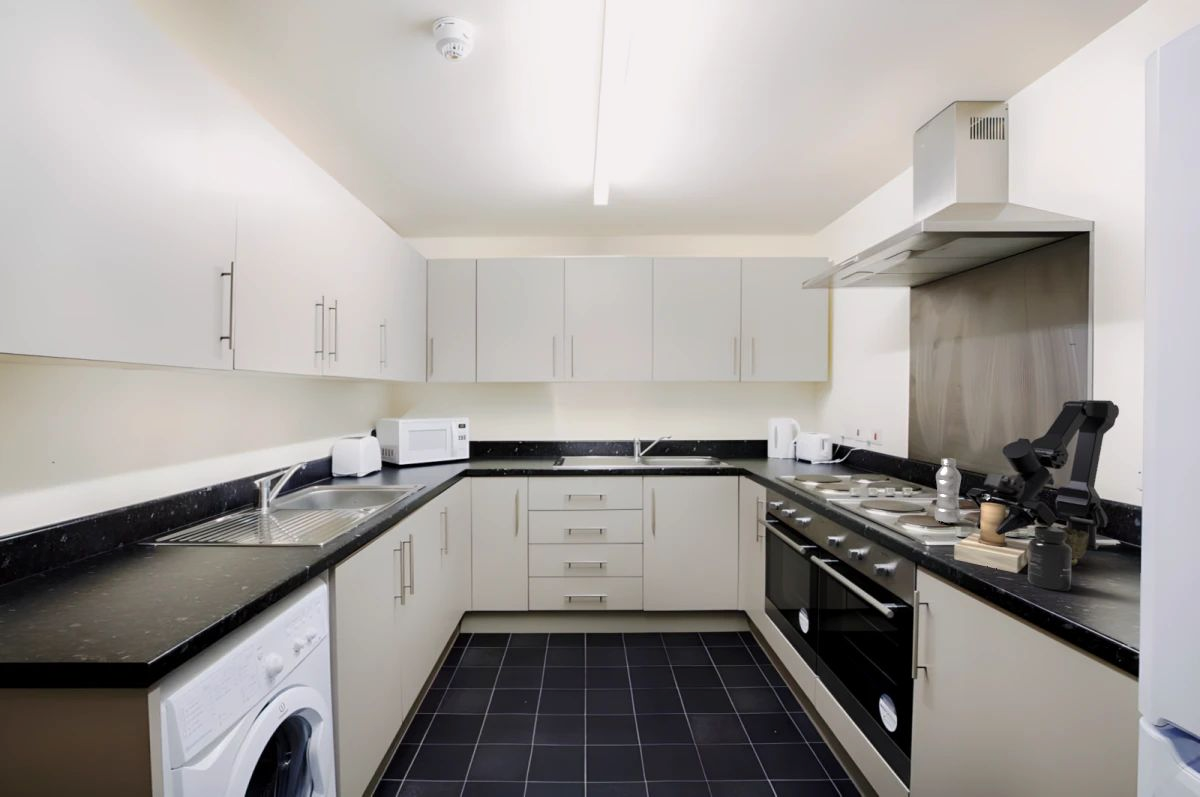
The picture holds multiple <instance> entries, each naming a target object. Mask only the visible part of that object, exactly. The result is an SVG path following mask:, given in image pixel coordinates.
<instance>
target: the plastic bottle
mask: <svg viewBox="0 0 1200 797" xmlns="http://www.w3.org/2000/svg"><path fill="white" fill-rule="evenodd" d="M940 459H941V460H940V465H941V467H940V468H938V470H937V472H936V474H935V481H936V488H937V490H936V492H937V494H936V495H937V496H936V497H937V498H936V506H935V508H934V509H935V510H934V519H935V520H936V521H937V520H938V521H943V522H958V523H959V522H960V519H961V512H960V505H959V504H960V503H959V494H960V486H961V484H962V483H961V480H962V474H961V473H960V472H959V470H958V469H957V467H956V466H957V460H956V459H955V458H947V457H946V458H945V457H944V458H940ZM938 521H937V522H938Z"/></svg>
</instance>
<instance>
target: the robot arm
mask: <svg viewBox="0 0 1200 797" xmlns="http://www.w3.org/2000/svg"><path fill="white" fill-rule="evenodd" d="M1119 414H1120V409H1119V406H1118V405H1117V404H1114V402H1113V401H1112V400H1104V399H1103V400H1101V399H1099V400H1097V399H1096V400H1094V399H1081V400H1068V401H1064V403H1063V404H1062V410H1060V413H1059V414H1058V416H1057V417H1056V418H1055V420H1054V421H1053V423H1052V424H1051V425H1050V427H1049V428H1048V430H1047V431H1046V433H1045V434H1044V435H1043V436H1040V437H1037V438H1035V439H1033V440H1032V442H1031V440H1030V439H1029V438H1023V437H1021V438H1020V437H1019V438H1018V439H1017V440H1016V441H1013V442H1012V441H1011V442H1010V443H1008V444H1006V445H1005V446H1003V448H1002V454H1003V456H1004V457H1005V459H1006V461H1007V463H1008V464H1009V465H1010V467H1011V468H1012V470H1013V471H1015V472H1016V473H1017V474H1011V475H1010V476H1008V475H1003V474H998V473H993V472H992V473H991V472H988V473H987V475H986V478H985V480H984V483H983V485H984V486H986V487H989V488H992V489H993V491H992V492H993V494H995V495H996V496H997V497H994V496H992V494H991V493H990V492H989V490H985V489H981V488H977V487H971V488H970V489H969V490H968V492H967V493H966V496H967V497H968V498H969V499H970V500H971V501H972V502H973V504H974V505H975V506H976V507H977V508H978V509H980V510H979V515H978V518H977V521H976V528H977V529H978V530H980V526H981V503H996V504H1001V505H1005V506H1006V510H1009V511H1008V514H1007V516H1005V519H1004V521H1003V522H1002V523H1001V524H1000V526H999V527H998V529H997V530H996V533H997V534H998V535H1001V534H1004V533H1005V534H1006V533H1009V532H1012V531H1015V530H1018V529H1022V528H1025V527H1029V526H1035V525H1036V522H1037V523H1038V525H1040V526H1045V527H1052V526H1053V525H1054V523H1056V522H1057V521H1056V517H1057V520H1060V521H1064V522H1065V521H1066V527H1067V528H1069V529H1070V530H1072V531H1073V530H1074V529H1076V531H1077V533H1078V532H1079V531H1081V530H1082V532H1086V534H1087V533H1089V537H1088V543H1087V548H1086V550H1093V551H1097V550H1098V548H1099V547H1100V544H1099V543H1097V528H1106V527H1107V523H1108V518H1109V517H1108V516H1107V513H1106V512H1105V510H1104V509H1103V507H1102V506H1101V500H1102V498H1101V497H1100V495H1099V494H1098V491H1097V490H1096V488H1095V484H1096V478H1097V473H1098V469H1099V468H1098V467H1099V461H1100V456H1101V451H1102V445H1103V441H1104V436H1105V434H1106V433H1107V432H1109V430H1111V429H1112V428H1113V427H1114V426H1115V423H1116V419H1117V418H1118V417H1119ZM1077 432H1078V435H1077V440H1076V446H1075V452H1074V455H1073V462H1072V469H1071V471H1070V472H1071V473H1070V477H1069V482H1068V483H1067V484H1066V485H1064V486H1060V487H1059V488H1058V489H1057V490H1058V491H1057V497H1056V499H1055V501H1054V507H1055V508H1054V509H1055V513H1056V515H1055V514H1054V512H1053V511H1052V510H1051V509H1050V508H1049V507H1048V505H1047V504H1046V502H1042V501H1039V500H1040V499H1041V496H1039V493H1040V492H1041V491H1042V489H1044V487H1045V486H1046V485H1050V486H1053V485H1055V480H1054V477H1053V476H1054V475H1053V473H1050V471H1049V469H1052V470H1053V469H1054V470H1061V469H1062V468H1064V466H1065V465H1066V464H1067V463H1068V459H1069V451H1068V449H1067V448H1068V447H1069V446H1068V445H1069V444H1070V443H1071V442H1072V440H1073V438H1074V436H1075V435H1076V433H1077ZM1035 521H1036V522H1035Z"/></svg>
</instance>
